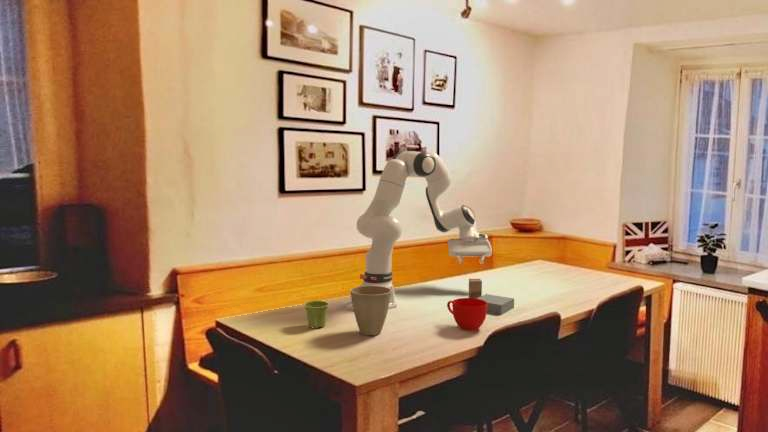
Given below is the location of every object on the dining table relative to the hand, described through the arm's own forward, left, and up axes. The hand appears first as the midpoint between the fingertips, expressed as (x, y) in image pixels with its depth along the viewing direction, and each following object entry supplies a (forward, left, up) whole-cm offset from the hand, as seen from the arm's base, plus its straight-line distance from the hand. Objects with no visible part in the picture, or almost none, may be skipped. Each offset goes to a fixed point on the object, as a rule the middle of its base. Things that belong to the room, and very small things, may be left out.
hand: (471, 263), depth 265 cm
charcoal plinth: (-18, -20, -14) cm, 31 cm away
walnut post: (-9, -7, -14) cm, 18 cm away
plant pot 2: (-74, +3, -15) cm, 76 cm away
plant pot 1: (-80, +24, -15) cm, 85 cm away
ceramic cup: (-48, -22, -15) cm, 55 cm away
